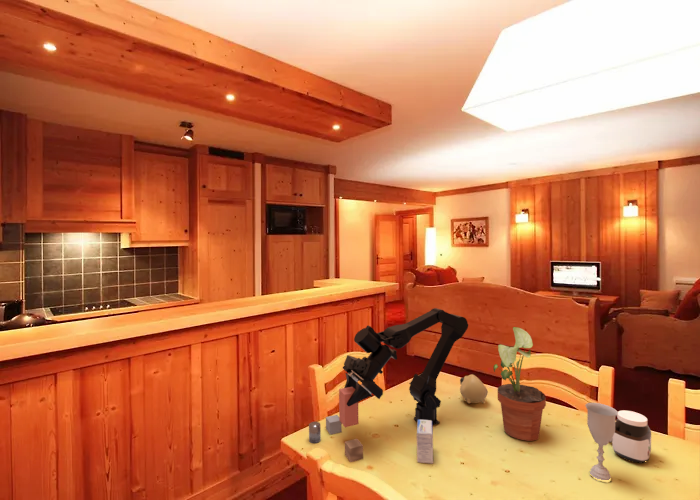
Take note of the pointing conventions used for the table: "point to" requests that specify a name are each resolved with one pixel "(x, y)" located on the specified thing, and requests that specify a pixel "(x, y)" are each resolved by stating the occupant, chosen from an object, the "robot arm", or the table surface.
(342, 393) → the dusty red block
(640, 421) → the spread jar
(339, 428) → the slate grey block
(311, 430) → the grey metal cylinder
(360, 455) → the walnut block
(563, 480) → the table surface
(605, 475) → the chalice
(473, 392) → the toy pig
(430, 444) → the medicine box
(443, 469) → the table surface
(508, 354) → the potted plant
